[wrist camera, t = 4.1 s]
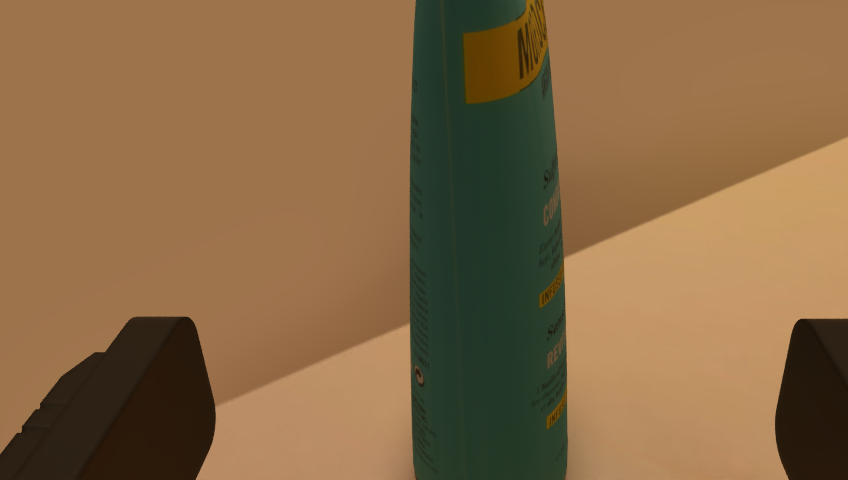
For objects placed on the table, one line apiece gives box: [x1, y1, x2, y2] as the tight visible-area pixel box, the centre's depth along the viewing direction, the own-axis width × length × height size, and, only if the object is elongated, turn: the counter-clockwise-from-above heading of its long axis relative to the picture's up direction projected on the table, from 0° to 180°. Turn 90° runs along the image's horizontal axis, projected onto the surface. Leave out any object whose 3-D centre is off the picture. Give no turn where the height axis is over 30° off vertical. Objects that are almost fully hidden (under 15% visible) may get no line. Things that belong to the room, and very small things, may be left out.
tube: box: [410, 0, 568, 480], centre depth 20 cm, size 7×5×19 cm, turn 173°
